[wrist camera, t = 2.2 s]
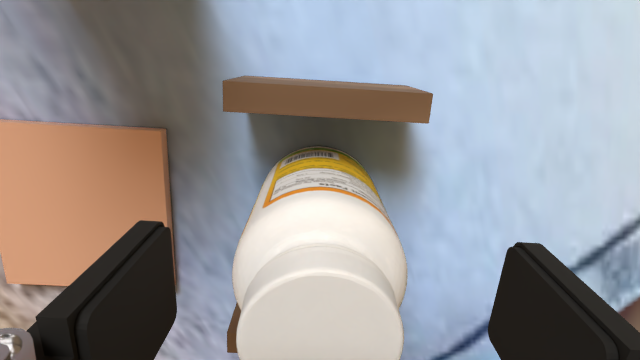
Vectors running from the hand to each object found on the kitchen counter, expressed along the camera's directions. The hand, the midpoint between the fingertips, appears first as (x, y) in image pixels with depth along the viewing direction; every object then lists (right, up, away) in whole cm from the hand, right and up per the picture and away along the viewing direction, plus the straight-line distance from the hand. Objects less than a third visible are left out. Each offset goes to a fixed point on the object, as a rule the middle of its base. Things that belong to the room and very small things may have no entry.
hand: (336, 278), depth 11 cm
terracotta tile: (-12, +1, +8) cm, 14 cm away
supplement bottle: (-1, +2, +8) cm, 8 cm away
